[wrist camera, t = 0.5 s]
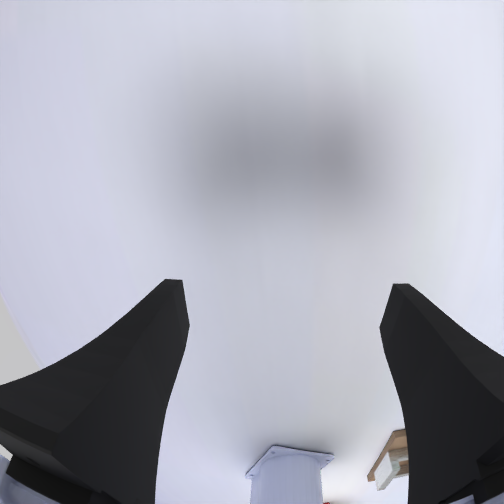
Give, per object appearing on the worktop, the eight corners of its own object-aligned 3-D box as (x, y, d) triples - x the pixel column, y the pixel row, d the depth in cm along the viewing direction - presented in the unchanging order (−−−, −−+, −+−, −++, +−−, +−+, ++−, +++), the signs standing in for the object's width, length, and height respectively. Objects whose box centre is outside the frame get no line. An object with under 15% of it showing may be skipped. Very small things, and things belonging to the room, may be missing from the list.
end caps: (374, 472, 30) (380, 507, 25) (387, 451, 28) (397, 489, 23) (495, 439, 29) (507, 465, 23) (513, 415, 27) (528, 442, 21)
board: (367, 476, 32) (368, 481, 31) (393, 431, 28) (395, 437, 27) (484, 445, 31) (486, 449, 30) (520, 397, 26) (523, 401, 25)
